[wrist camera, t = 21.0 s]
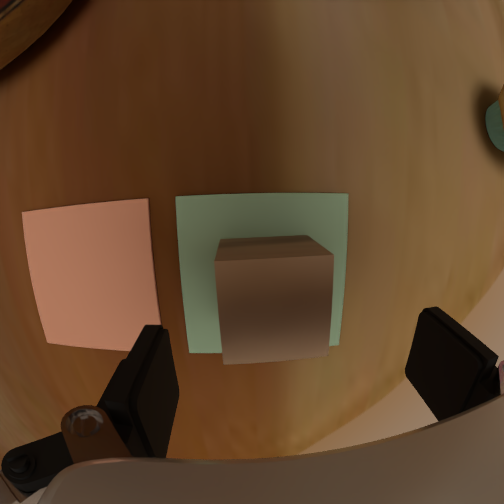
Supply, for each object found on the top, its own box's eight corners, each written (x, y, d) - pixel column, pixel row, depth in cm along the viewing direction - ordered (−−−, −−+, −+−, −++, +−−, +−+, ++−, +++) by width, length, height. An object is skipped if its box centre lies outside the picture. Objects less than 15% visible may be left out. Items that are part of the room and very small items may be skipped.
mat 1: (24, 211, 19) (22, 212, 19) (149, 198, 20) (147, 198, 19) (49, 341, 22) (47, 342, 21) (165, 350, 22) (165, 352, 22)
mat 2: (176, 196, 20) (175, 196, 19) (346, 193, 20) (348, 193, 20) (189, 351, 22) (189, 353, 22) (337, 343, 23) (338, 344, 23)
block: (220, 239, 20) (214, 261, 14) (307, 235, 21) (334, 254, 15) (226, 319, 22) (223, 364, 16) (306, 313, 22) (328, 355, 16)
